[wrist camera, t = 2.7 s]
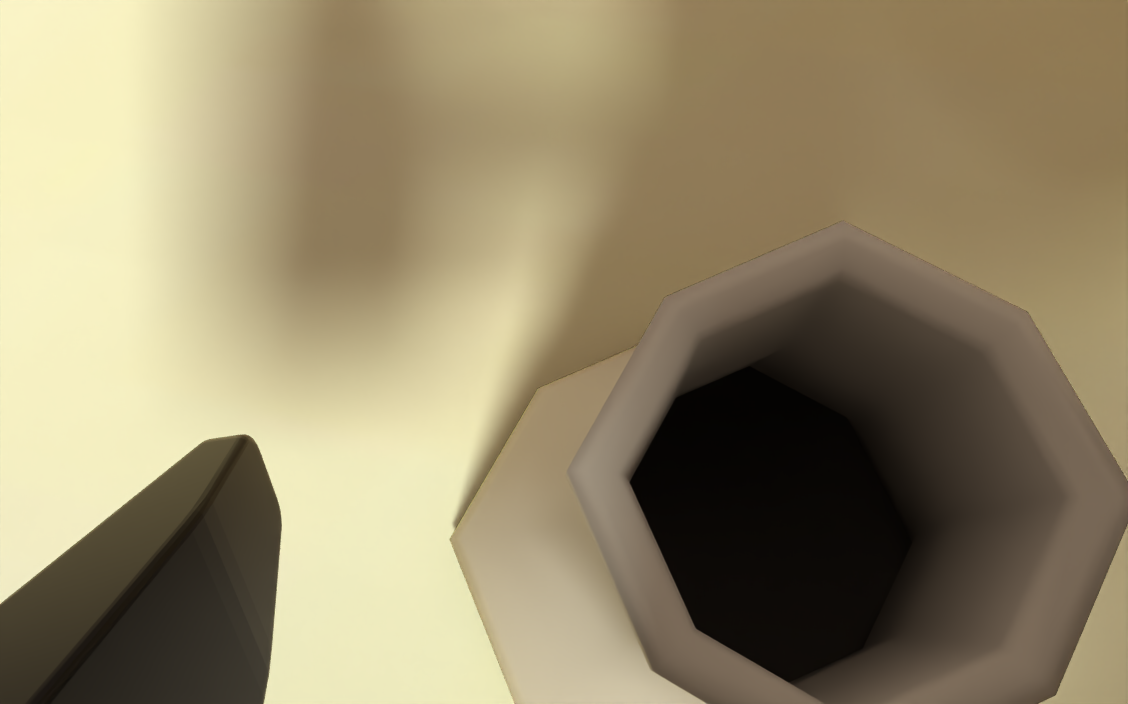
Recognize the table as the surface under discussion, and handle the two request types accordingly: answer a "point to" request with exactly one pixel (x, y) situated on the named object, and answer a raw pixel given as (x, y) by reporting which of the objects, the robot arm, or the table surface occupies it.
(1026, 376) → the flask
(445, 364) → the table surface
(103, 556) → the robot arm
